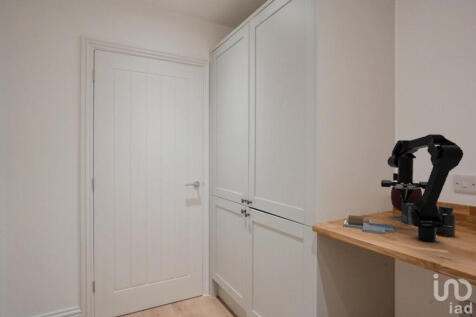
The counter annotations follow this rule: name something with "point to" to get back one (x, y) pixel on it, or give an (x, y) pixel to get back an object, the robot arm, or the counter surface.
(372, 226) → the trap tray
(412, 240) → the counter surface
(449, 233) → the supplement bottle
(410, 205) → the small box
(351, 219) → the walnut block
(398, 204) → the mate gourd
